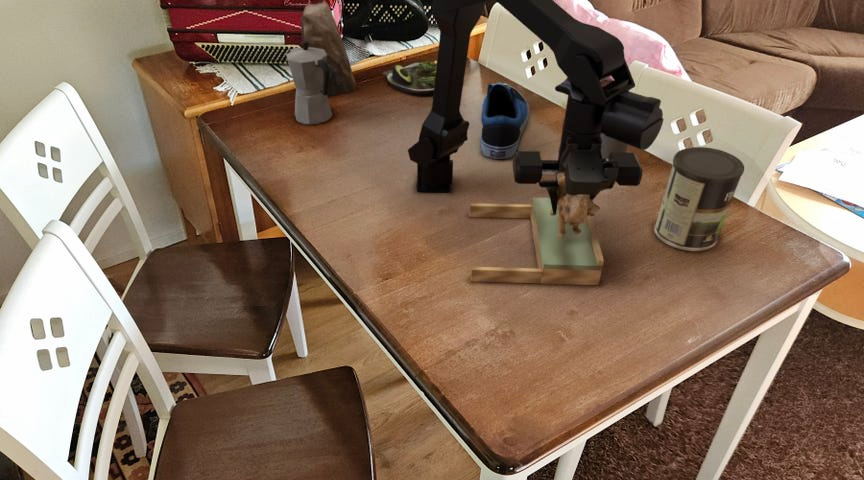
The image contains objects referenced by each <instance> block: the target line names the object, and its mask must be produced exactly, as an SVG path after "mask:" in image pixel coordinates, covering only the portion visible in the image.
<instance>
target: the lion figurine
mask: <svg viewBox="0 0 864 480" xmlns="http://www.w3.org/2000/svg"><path fill="white" fill-rule="evenodd" d="M557 180H558V184H559V188H558V199H557V205H558V206H559V232H558V237H560V238H563V237H565V233H566V231H565V223H567V224H568V225H570V226H571V225H573V226H572V231H573V233H575V234H579V233H581V230H580V229H579V228H578V225H579V224H581V223H583V222H585V221H586V220H587V216H591V217H592V218H595V216H596V215H597V214H598V212H599V210H601V207H600V205H597V203H594V200H593V201H592V200H591V199H589V198H590V196H589V195H580V194H577V195H570V194H568V193H567V192H566V190H565V176H562V177H561V176H560V177H559V178H557ZM556 214H557V211H556ZM556 214H553V210H552V209H551V211H550V215H556Z"/></svg>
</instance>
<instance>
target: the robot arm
mask: <svg viewBox="0 0 864 480" xmlns="http://www.w3.org/2000/svg"><path fill="white" fill-rule="evenodd" d="M487 1H488V0H432V17H433V20H434V21H435V24H436V25H437V27H438V30H439V39H438V40H439V41H438V50H437V59H436V61H437V67H436V76H435V85H434V94H432V95H433V97H432V104H431V109H430V112H429V113H428V114H427V116H426V118H425V119H424V121H423V123H422V125H421V127H420V132H419V136H418V141H417V142H415V143H414V144H413V145H412V146H410V147H409V148H408V149H407V153H408V157H409V161H410V162H413V163H415V164H416V177H417V179H416V188H415V189H416V192H420V193H450V192H451V186H452V185H453V178H454V177H453V176H454V160H453V159H451V155H453V154H456V153H458V151H459V149H460V148H461V147H462V146H464V144H465V142H466V141H468V139H469V137H468V130H469V127H470V122H469V121H468V120H465V119H464V117H463V115H462V114H461V110H460V109H461V102H462V95H463V90H464V89H463V88H464V81H465V75H466V68H467V67H466V66H467V61H468V54H469V46H470V40H471V35H472V32H473V30H474V29H475V27H476V26H477V24H478V22H479V20H480V19H481V18H482V16H483V12H484V9H485V6H486V3H487ZM495 2H497V4H498V5H500V6H501V7H502V8H504V9H505V10H506V11H507V12H508V13H509V14H511V16H513V17H514V18H515V19H516V20H517V21H519V22H520V23H521V24H522V25H523V26H525V28H527V29H528V30H529V31H530V32H531V33H533V34H534V35H535V36H536V37H537V38H538V39H540V40H541V41H542V42H543V43H544V44H545V45H546V46H548V48H549V49H550V50H551V51H552V53H553V55H554V58H555V61H556V65H557V66H558V68H559V69H560V70H561V71H562V73H563V74H564V75H565V76H566V79H564V81H562V82H561V83H559V84H557V85H556V86H555V87H554V90H555V91H556V92H558V93H560V94H564V95H567V98H566V99H567V100H566V106H565V112H564V119H563V123H562V128H561V129H562V131H561V137H560V142H559V143H560V144H559V147H558V151H557V152H558V154H557V155H558V156H557V159H542V156H541V151H539V150H537V151H535V150H534V151H533V150H532V151H531V150H530V151H529V150H517V151H516V152H515V154H514V155H513V156H512V157H513V158H512V170H513V179H514V183H516V184H519V185H537V184H538V186H539V188H542V189H546V191H547V194H548V196H549V198H550V200H551V205H552V210H553V214H556V211H557V199H558V188H559V184H558V176H559V175H560V174H561V175H562V174H564V176H565V190H566V192H567V193H568V194H570V195H577V194H580V195H589V196H590V198H589V199H591V200H592V201H593V202H594V199H595V198H596V197H597V196H598V195H599V194H600V193H601V192H602V191H605V190H611V189H613V188H614V186H615V184H617V185H618V186H621V187H623V186H624V187H637V186H639V185H640V184H641V182H642V178H643V167H642V165H641V163H640V161H639V158H638V156H637V155H636V153H634V152H627V151H626V152H611V153H610V154H609V157H608V159H602V154H601V147H602V139H601V138H602V134H605V136H606V137H609V138H612V139H614V140H617V141H620V142H623V143H625V144H628V146H631V147H634V148H637V149H639V150H643V151H645V150H648V149H649V148H650V147H651V146H652V145H653V144H654V142H655V141H656V139H657V137H658V136H659V134H660V132H661V129H662V127H663V123H664V118H663V116H664V113H663V112H664V111H663V109H662V108H661V103H662V100H661V99H660V98H656V97H653V96H645V95H642V94H639V93H636V92H633V91H631V90H632V89H634V88H635V87H636V83H635V80H634V78H633V76H632V73H631V70H630V67H629V65H628V62H627V60H626V58H625V46H624V43H622V40H620V39H619V38H618V37H617V36H615V35H613V34H611V33H610V32H608V31H606V30H604V29H602V28H601V27H599V26H596V25H593V24H588V23H585V22H582V21H580V20H579V19H576V18H574V17H573V16H572V15H571V14H570V13H569V12H567V11H566V10H565V9H564V8H563V7H561V5H559V4H558V3H557V2H555V1H554V0H495ZM609 78H612V79H613V81H611V82H609V83H607V84H605V85H604V86H602V84H601V82H603V81H605V80H607V79H609ZM558 174H559V175H558Z"/></svg>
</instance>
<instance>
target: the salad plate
mask: <svg viewBox="0 0 864 480" xmlns="http://www.w3.org/2000/svg"><path fill="white" fill-rule="evenodd" d="M436 67H437V60H434V62H431V60H428V61H424V62H413V63H411V64H409V65H408V64H407V66H402V65H400V64H395V65H394V66H393V68H392V69H391V70H385V71H384V72H383V73H382V75H384V76H386V81H387V82H388V84H389V85H390V86H391V88H393V89H394V90H397V91H399V92H401V93H404V94H407V95H411V96H417V97H426V96H432V95H433V94H434V85H435V76H436Z"/></svg>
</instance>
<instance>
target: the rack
mask: <svg viewBox="0 0 864 480" xmlns="http://www.w3.org/2000/svg"><path fill="white" fill-rule="evenodd" d="M551 209H552V205H551V200H550V197H532V199H531V204H529V203H528V204H520V203H519V204H518V203H471V202H470V203H469V218H496V219H497V218H500V219H501V218H502V219H503V218H504V219H530V225H531V230H532V236H533V237H532V238H533V244H534V249H535V250H534V251H535V256H536V263H537V268H536V267H535V268H533V267H532V268H531V267H500V266H499V267H495V266H471V269H470V282H479V283H480V282H485V283H514V284H515V283H516V284H517V283H518V284H541V285H543V284H545V285H546V284H547V285H574V286H575V285H580V286H599V284H600V278H601V275H602V270H603V268H604V262H605V260H604V256H603V253H602V249H601V245H600V242H599V238H598V235H597V232H596V231H597V230H596V228H595V224H594V221H593V217H591V216H587V220H586V221H585V222H583V223H581V224H579V225H578V228H579V229H580V230H581V233H579V234H575V233H573V231H572V226H573V225H571V226H570V225H568V224H567V223H565V231H566V233H565V237H563V238H560V237H558V232H559V206H558V205H557V214H556V215H550V211H551Z"/></svg>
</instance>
